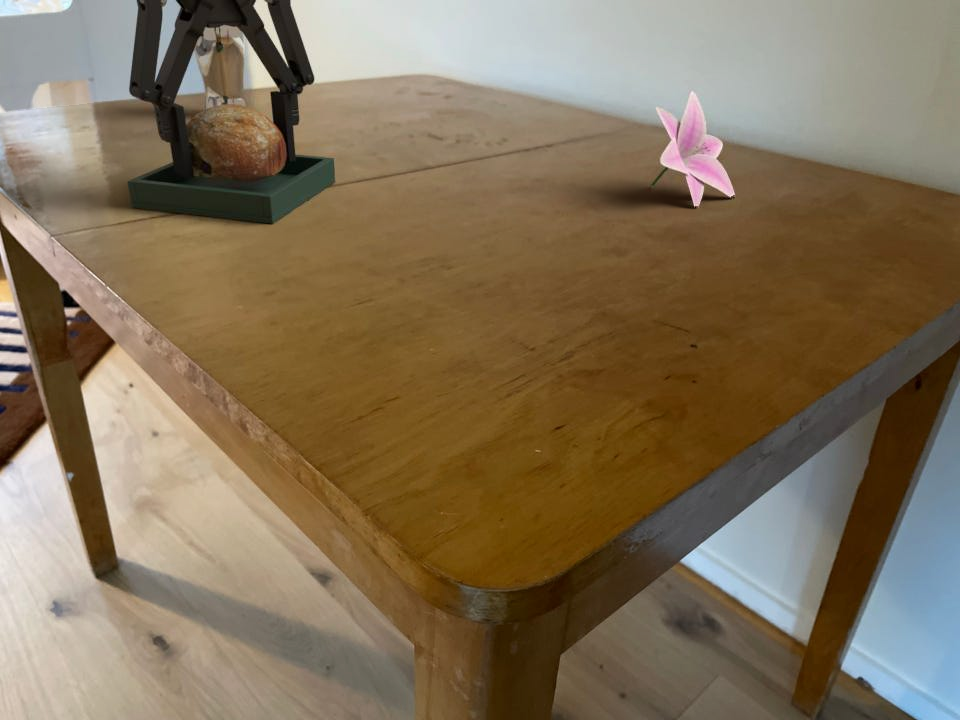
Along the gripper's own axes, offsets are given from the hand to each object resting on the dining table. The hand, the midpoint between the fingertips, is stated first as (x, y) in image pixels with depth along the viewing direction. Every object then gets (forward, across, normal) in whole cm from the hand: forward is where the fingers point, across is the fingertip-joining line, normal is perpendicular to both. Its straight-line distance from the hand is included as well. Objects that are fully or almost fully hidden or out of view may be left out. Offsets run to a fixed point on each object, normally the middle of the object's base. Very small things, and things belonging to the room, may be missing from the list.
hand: (237, 166), depth 78 cm
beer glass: (+3, +16, +35) cm, 39 cm away
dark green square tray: (+3, 0, 0) cm, 3 cm away
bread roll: (0, 0, 0) cm, 0 cm away
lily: (+3, +38, -27) cm, 47 cm away
